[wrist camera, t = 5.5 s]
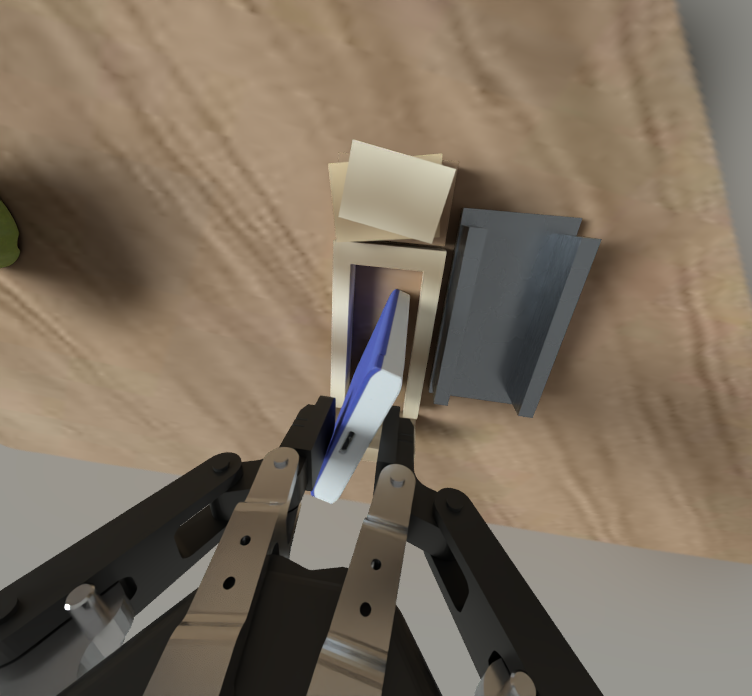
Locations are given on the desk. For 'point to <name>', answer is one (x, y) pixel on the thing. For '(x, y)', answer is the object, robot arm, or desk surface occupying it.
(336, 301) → the frame
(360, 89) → the desk surface
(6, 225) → the plant pot
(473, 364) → the stand
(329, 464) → the hard drive
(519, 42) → the desk surface
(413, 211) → the offcut stack
